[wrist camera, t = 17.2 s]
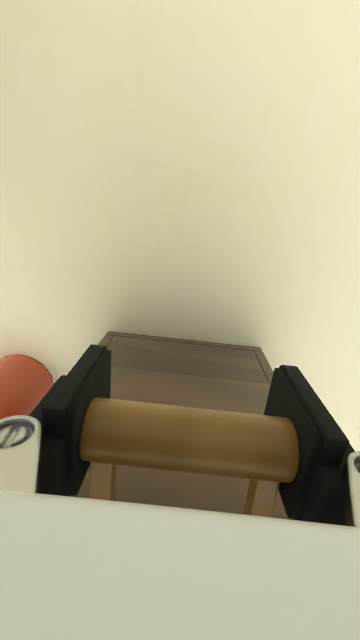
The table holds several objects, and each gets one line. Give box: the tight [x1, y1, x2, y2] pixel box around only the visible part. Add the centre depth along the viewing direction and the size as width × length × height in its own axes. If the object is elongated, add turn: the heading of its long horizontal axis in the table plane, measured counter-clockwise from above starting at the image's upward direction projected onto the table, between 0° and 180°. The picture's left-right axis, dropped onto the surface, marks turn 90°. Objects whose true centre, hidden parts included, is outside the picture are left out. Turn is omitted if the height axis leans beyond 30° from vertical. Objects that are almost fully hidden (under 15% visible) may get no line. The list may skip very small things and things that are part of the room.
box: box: [99, 332, 274, 384], centre depth 27 cm, size 13×15×7 cm
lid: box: [71, 367, 300, 520], centre depth 14 cm, size 14×15×5 cm
